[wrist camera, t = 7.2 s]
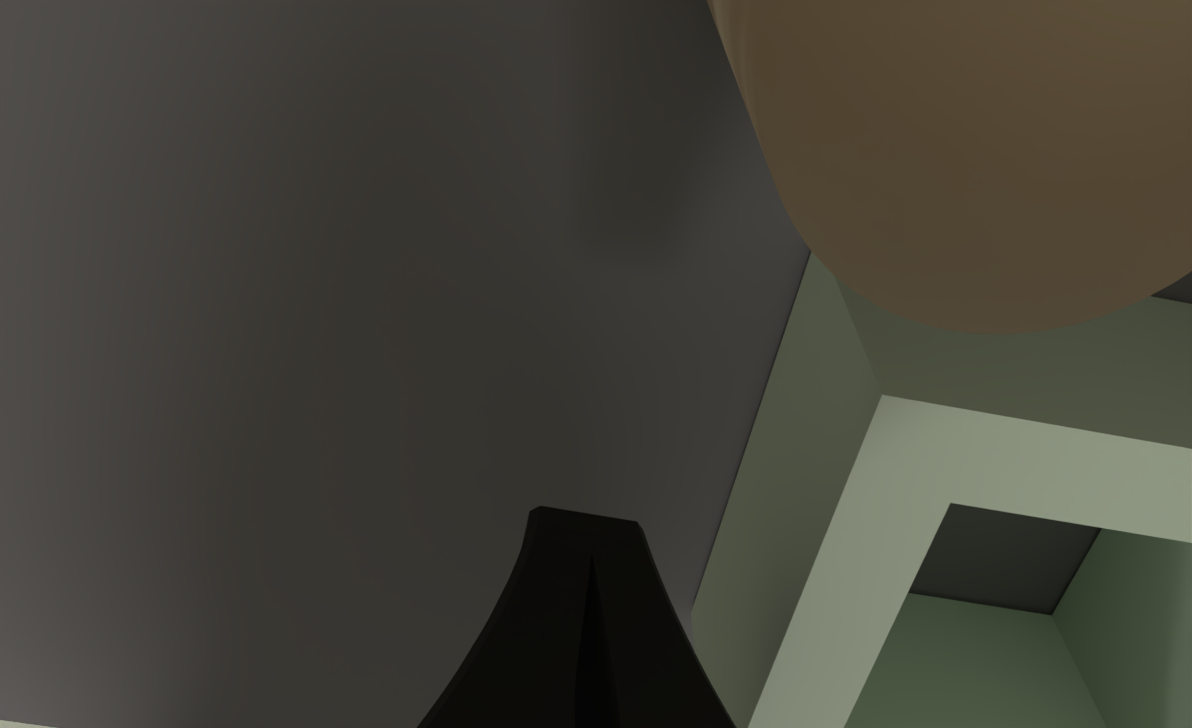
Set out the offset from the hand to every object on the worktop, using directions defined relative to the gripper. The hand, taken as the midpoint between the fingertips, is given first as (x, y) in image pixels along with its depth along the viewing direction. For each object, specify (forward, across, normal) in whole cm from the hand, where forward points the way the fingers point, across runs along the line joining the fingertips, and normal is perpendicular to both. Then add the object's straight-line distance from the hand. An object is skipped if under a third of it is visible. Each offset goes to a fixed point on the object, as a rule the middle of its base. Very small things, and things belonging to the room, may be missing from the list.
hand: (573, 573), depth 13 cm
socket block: (+3, -6, 0) cm, 7 cm away
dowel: (+3, -2, -8) cm, 8 cm away
